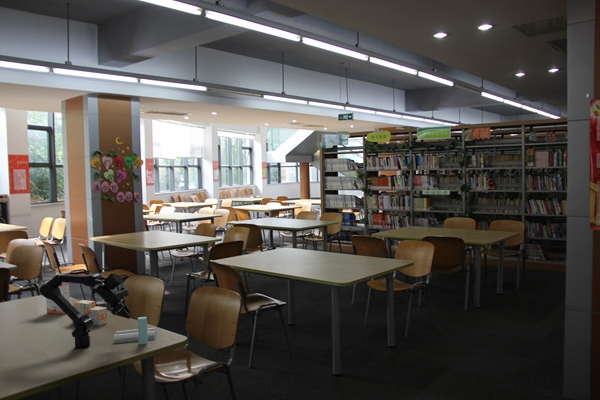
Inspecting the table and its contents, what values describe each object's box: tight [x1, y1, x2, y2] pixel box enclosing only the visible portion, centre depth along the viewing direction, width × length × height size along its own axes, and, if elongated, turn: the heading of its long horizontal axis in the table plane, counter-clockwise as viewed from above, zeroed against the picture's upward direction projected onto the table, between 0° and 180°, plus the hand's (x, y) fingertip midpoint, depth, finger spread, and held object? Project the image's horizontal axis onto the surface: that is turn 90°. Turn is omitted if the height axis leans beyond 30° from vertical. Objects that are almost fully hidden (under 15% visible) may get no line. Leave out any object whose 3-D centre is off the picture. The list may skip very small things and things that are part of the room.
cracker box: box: [44, 279, 71, 315], centre depth 315 cm, size 14×6×21 cm, turn 73°
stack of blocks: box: [72, 299, 108, 327], centre depth 291 cm, size 21×6×12 cm, turn 62°
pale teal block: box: [137, 316, 149, 345], centre depth 249 cm, size 5×3×13 cm, turn 102°
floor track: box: [113, 327, 157, 345], centre depth 258 cm, size 20×12×4 cm, turn 102°
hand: (129, 315), depth 250 cm, fingers open, 9 cm apart
